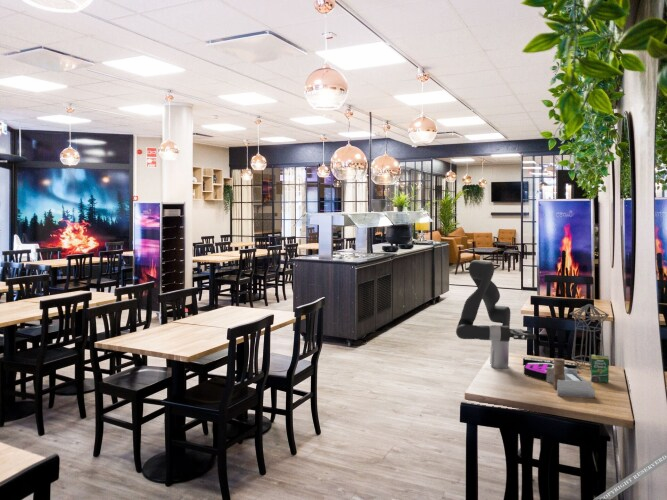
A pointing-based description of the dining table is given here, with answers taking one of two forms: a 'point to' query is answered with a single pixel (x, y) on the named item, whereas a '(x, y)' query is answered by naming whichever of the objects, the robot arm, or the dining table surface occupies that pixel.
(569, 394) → the rack
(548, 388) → the dining table surface
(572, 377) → the offcut stack
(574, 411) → the dining table surface
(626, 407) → the dining table surface
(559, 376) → the walnut board
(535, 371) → the sign
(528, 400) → the dining table surface
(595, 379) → the coffee box
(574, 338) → the geometric lantern
